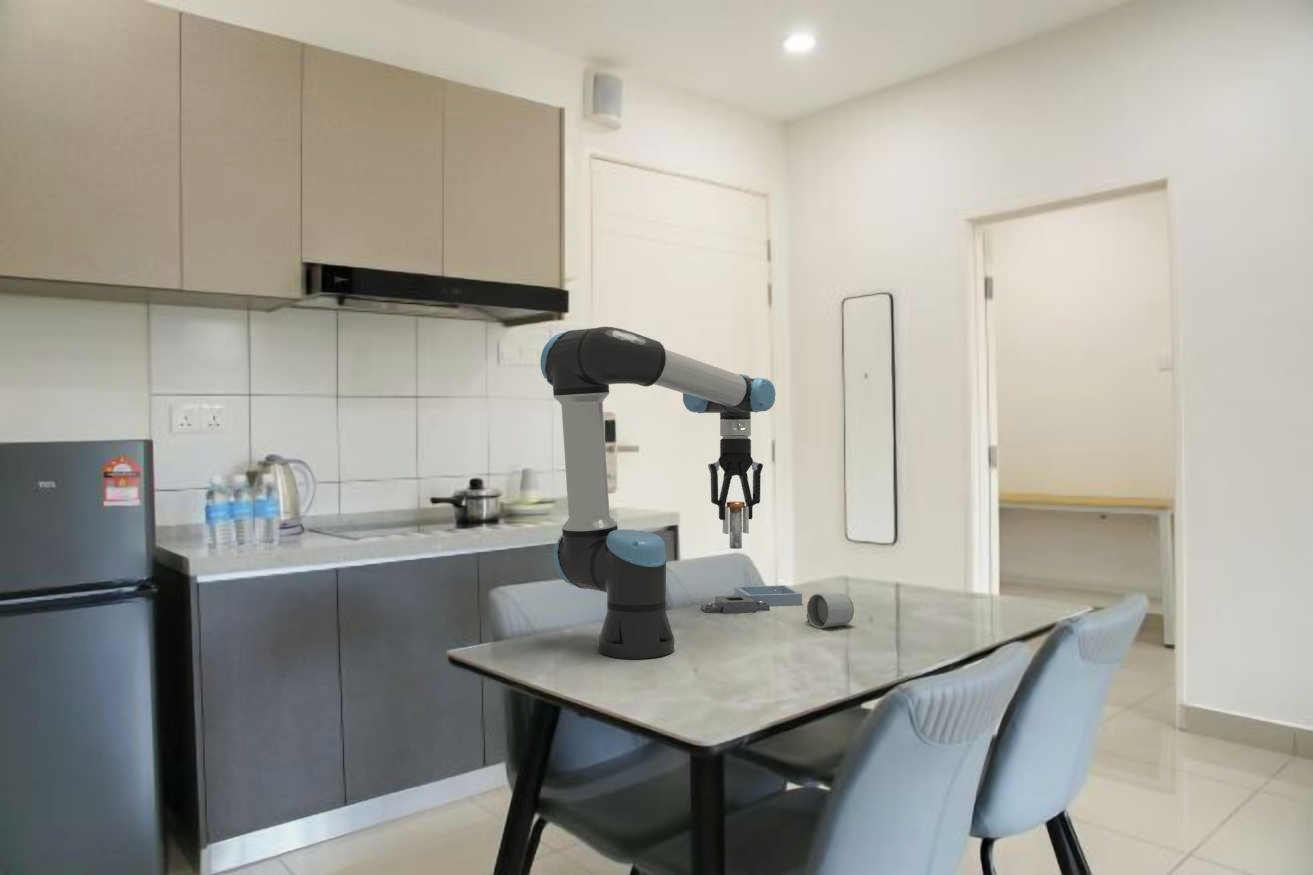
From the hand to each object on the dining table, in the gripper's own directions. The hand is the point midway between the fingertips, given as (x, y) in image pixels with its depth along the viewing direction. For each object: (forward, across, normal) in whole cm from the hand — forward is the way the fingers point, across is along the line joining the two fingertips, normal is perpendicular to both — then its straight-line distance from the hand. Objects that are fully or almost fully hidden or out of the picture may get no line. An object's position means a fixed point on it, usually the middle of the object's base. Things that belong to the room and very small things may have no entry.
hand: (735, 532), depth 221 cm
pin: (+4, 0, 0) cm, 4 cm away
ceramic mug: (+19, +15, -21) cm, 32 cm away
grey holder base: (+19, 0, 0) cm, 19 cm away
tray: (+19, +11, +9) cm, 23 cm away
